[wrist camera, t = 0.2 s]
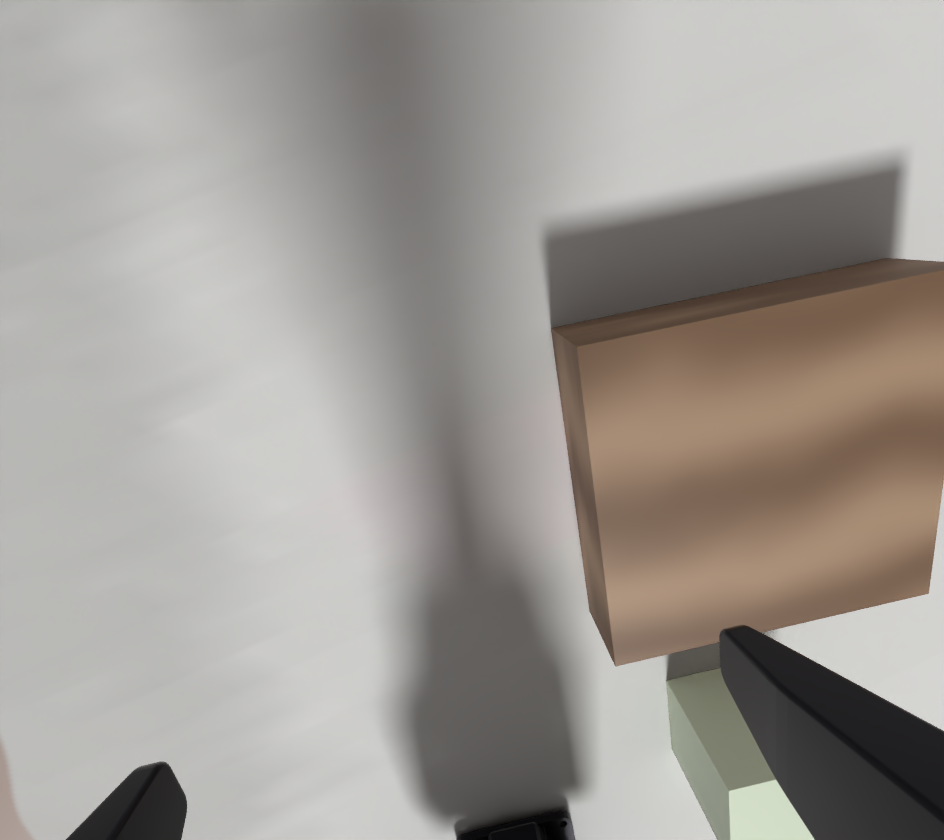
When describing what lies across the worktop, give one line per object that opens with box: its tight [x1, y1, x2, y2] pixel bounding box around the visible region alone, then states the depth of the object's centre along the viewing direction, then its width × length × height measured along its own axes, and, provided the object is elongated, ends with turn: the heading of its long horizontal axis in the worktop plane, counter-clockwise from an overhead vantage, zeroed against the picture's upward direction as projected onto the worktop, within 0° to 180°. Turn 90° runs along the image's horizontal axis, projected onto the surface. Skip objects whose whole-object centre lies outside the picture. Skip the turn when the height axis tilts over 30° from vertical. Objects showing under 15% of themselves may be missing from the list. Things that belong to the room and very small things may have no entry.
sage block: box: [666, 668, 815, 840], centre depth 27 cm, size 5×5×6 cm
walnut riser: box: [551, 258, 944, 666], centre depth 23 cm, size 14×14×4 cm
